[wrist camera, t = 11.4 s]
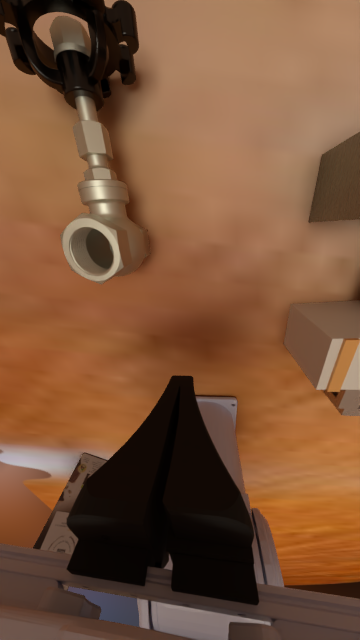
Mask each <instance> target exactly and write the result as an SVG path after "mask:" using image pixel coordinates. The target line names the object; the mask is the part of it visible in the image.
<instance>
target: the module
mask: <svg viewBox="0 0 360 640" xmlns="http://www.w3.org/2000/svg"><path fill="white" fill-rule="evenodd" d="M284 345H285V347H286V348H287V350H288V351H289V352H290V354H291V355H292V356H293V358H294V359H295V361H296V362H297V363H298V365H299V366H300V368H301V369H302V370H303V372H304V373H305V375H306V376H307V377H308V379H309V380H310V382H311V383H312V384H313V386H314V387H315V388H316V390H327V392H340V390H360V300H355V301H337V302H319V303H301V304H291V306H290V311H289V317H288V322H287V328H286V333H285V339H284Z"/></svg>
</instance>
